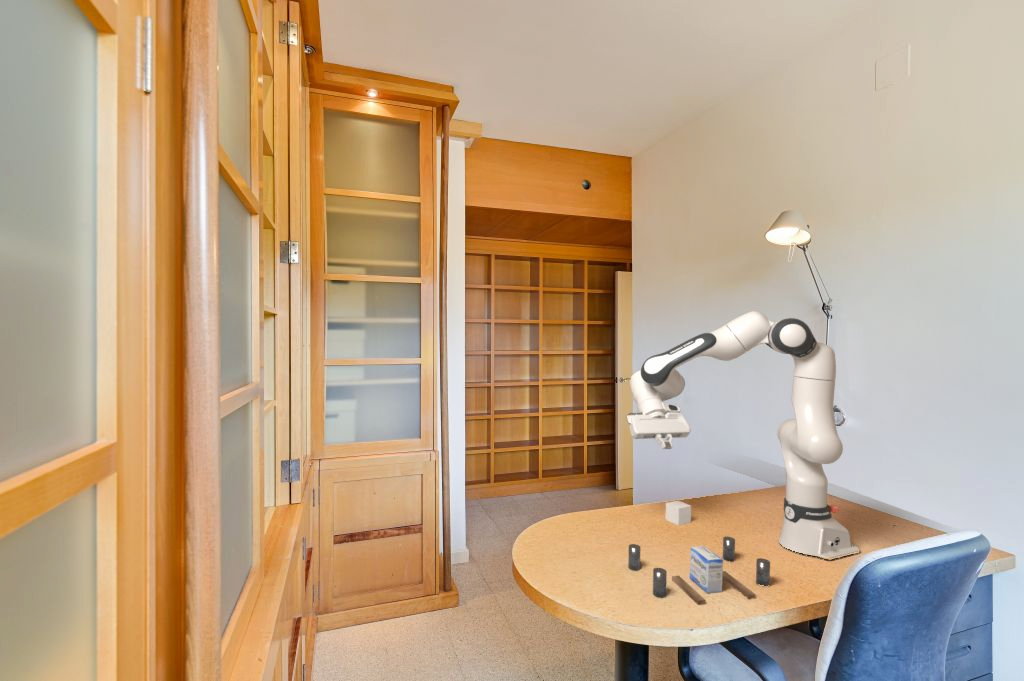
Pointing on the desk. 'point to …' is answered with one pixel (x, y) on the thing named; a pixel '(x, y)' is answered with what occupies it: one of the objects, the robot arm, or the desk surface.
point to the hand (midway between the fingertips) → (667, 448)
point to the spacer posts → (728, 555)
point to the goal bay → (700, 599)
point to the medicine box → (706, 569)
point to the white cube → (678, 512)
